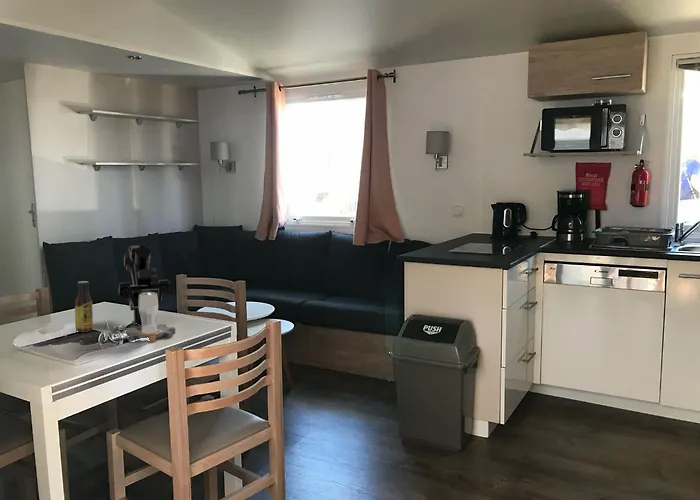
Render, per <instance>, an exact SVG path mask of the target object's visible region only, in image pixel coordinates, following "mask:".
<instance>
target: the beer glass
mask: <svg viewBox="0 0 700 500" xmlns="http://www.w3.org/2000/svg"><path fill="white" fill-rule="evenodd" d="M158 311H159V303H158V292H157V291H156V292H154V291H150V292H144V293H140V294H139V313H140V317H141V322H142V327H141V326H140V327H141V334H145V335H149V334H155V333H157V332H158V329H157V326H158V325H157V320H158V319H157V317H158Z"/></svg>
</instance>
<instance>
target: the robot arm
mask: <svg viewBox="0 0 700 500" xmlns="http://www.w3.org/2000/svg"><path fill="white" fill-rule="evenodd" d="M123 254H124V255H123V265H124V267H125V268H126V269H125V270H126V271H127V272H128V273H129V274H131V279H132V280H131V281H132V284H131V282H130V281H129V282H120V283H118V296H119V297H122V298H124V299H126V300H127V301H128V302H129V309H130V311H133V320H132V321H131V323H132V324H133V323H137V324H135V325H134V326H140V325H142V322H141V317H140V313H139V294H140V293H144V292H151V291H152V290H153V291H154V290H157V291H158V292H157V297H158V306H160V305H161V302H162V299H163V296H164V295H167V294H168V293H170V288H171V281H170V280H169V279H159V280H158V283H154V284H152V283H153V281H154V280H153V277H157V276H158V273H157V271H158V270H157V267H151V268H150V262H151V258H152V257H153V252H152V250H151V249H150V248H149V246H146V245H145V244H139V245H130V246H128V249H127V250H126V252H125V253H123ZM138 324H139V325H138Z"/></svg>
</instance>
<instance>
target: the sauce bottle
mask: <svg viewBox="0 0 700 500" xmlns="http://www.w3.org/2000/svg"><path fill="white" fill-rule="evenodd" d="M89 283H90V282H89V281H85V280H84V281H83V280H82V281H78V282H77V295H76V297H75V300H74V302H75V303H74V304H75V305H74V314H75V315H74V316H75V317H74V318H75V319H74V320H75V324H74V325H75V326H74V327H75V332H76V331H78V332H86V333H88V332H87V331H91V330H92V331H93V328H94V327H93V326H94V320H93V300H92V297H91V296H90V291H89V285H90V284H89ZM92 331H91V332H92Z"/></svg>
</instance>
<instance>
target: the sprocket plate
mask: <svg viewBox="0 0 700 500" xmlns="http://www.w3.org/2000/svg"><path fill="white" fill-rule="evenodd" d="M141 327H142V325H139V326H136V327H127V328H125V329H126V330H127V331H126V334H127V335H128V336H129V337H128V338H129V339H130V340H136V339H140V338H147V337H148V338H149V340H150V341H148V342H149V343H153V342H157V341H158V340H163V339H171V338H173V335H174V334H176V327H175V326H167V324H158V325H157V329H158V332H157V333H155V334H149V335H145V334H141Z"/></svg>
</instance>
